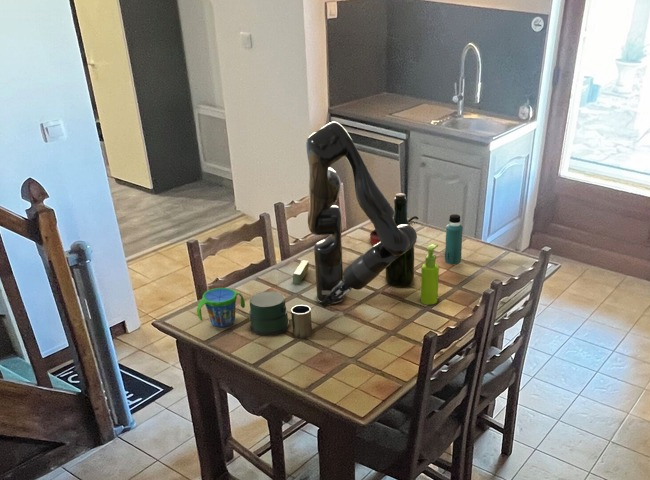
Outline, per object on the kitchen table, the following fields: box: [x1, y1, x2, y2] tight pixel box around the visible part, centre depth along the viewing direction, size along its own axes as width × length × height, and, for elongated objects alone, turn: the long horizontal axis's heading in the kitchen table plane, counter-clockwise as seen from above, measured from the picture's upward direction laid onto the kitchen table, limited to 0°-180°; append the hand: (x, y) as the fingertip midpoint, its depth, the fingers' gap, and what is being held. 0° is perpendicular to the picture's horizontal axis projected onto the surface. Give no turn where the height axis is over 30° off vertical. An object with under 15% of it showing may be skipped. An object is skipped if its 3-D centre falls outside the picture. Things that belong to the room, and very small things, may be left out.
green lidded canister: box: [248, 290, 290, 337], centre depth 219 cm, size 12×12×10 cm
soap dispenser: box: [420, 243, 440, 306], centre depth 234 cm, size 6×7×20 cm
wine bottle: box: [384, 192, 415, 288], centre depth 242 cm, size 10×10×33 cm
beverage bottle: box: [444, 213, 464, 265], centre depth 259 cm, size 6×7×20 cm
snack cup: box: [196, 287, 246, 328], centre depth 220 cm, size 16×10×10 cm
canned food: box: [369, 229, 381, 246], centre depth 281 cm, size 11×10×10 cm
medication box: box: [292, 259, 310, 285], centre depth 251 cm, size 12×3×4 cm, turn 172°
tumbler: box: [290, 304, 313, 340], centre depth 216 cm, size 6×6×9 cm
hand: (329, 298), depth 207 cm, fingers open, 8 cm apart
